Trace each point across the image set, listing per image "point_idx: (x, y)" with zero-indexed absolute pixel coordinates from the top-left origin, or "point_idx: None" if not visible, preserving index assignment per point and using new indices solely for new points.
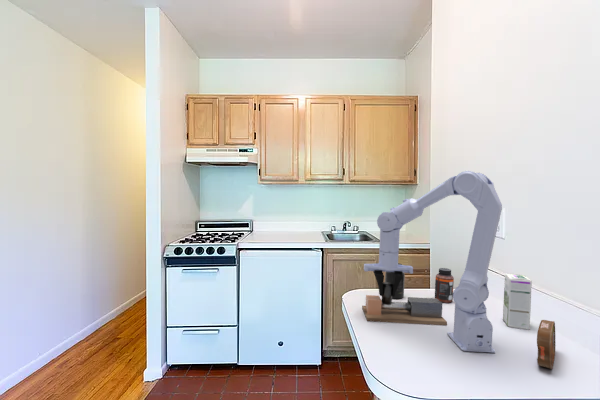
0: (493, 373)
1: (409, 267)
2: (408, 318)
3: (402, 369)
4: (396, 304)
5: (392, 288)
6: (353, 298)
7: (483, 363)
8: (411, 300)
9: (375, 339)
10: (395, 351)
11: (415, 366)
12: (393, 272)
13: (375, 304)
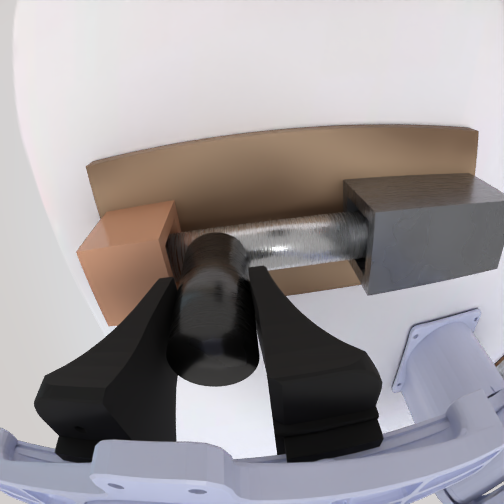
0: (393, 422)
1: (445, 485)
2: (321, 276)
3: (239, 452)
4: (277, 268)
5: (258, 328)
6: (42, 19)
7: (400, 407)
8: (375, 271)
9: (182, 396)
10: (232, 424)
11: (265, 445)
12: (279, 444)
13: None
